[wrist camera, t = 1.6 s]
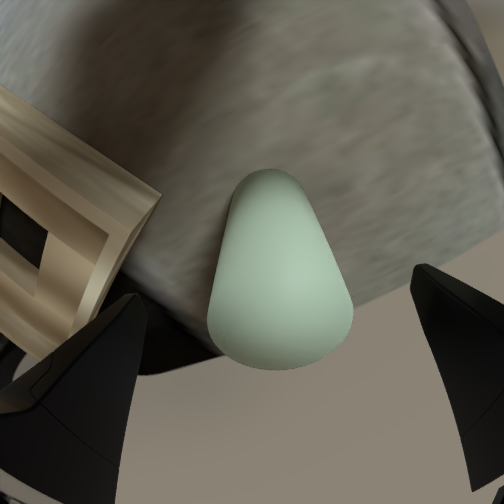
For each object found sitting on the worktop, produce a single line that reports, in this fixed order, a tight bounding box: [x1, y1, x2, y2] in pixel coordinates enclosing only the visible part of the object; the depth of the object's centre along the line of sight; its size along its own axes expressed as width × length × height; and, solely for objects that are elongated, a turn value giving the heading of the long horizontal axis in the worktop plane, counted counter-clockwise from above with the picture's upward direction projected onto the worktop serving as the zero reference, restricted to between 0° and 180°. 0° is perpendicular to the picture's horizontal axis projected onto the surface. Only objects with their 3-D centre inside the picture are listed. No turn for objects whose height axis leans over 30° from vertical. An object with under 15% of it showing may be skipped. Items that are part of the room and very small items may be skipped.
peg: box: [207, 169, 353, 370], centre depth 12 cm, size 4×4×9 cm
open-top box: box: [0, 85, 162, 362], centre depth 14 cm, size 16×16×4 cm
